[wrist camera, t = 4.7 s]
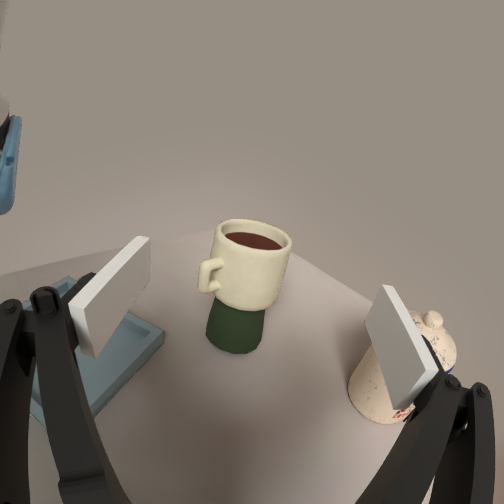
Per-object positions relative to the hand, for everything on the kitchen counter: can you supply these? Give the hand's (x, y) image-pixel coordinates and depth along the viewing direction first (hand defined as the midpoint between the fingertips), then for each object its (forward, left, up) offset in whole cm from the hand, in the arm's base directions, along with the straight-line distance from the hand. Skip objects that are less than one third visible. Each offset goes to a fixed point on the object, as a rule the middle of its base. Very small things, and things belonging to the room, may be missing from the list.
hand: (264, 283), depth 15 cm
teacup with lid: (+15, +10, -15) cm, 24 cm away
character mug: (-4, +10, -15) cm, 18 cm away
